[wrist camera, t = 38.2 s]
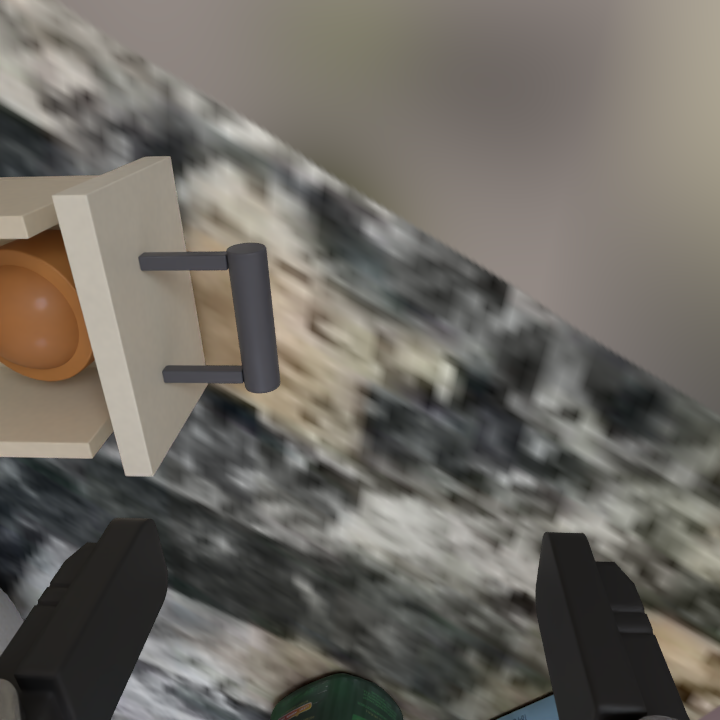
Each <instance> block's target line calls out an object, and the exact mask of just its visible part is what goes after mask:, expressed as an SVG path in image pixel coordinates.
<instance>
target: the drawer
mask: <svg viewBox="0 0 720 720" xmlns="http://www.w3.org/2000/svg"><path fill="white" fill-rule="evenodd" d="M49 229H54V230H61V234H62V237H63V241H64V245H65V249H66V253H67V256H68V260H69V264H70V268H71V271H72V275H73V279H74V283H75V287H76V290H77V294H78V298H79V302H80V306H81V309H82V313H83V317H84V321H85V324H86V328H87V332H88V336H89V340H90V343H91V347H92V351H93V355H94V358H95V361H93V362H92V363H91V364H90V365H88V366H87V367H86V368H85V369H83V370H82V371H81V372H79V373H78V374H77V375H75V376H73V377H71V378H68V379H65V380H60V381H42V380H37V379H33V378H29V377H27V376H24V375H21V374H19V373H17V372H15V371H13V370H12V369H10V368H9V367H7V366H5V365H4V364H3V363H1V362H0V457H32V458H88V459H91V458H93V457H94V456H95V455H96V453H97V452H98V451H99V449H100V448H101V447H102V446H103V444H104V443H105V442H106V440H107V439H108V438H109V436H110V435H111V434H112V432H113V431H114V434H115V438H116V442H117V445H118V449H119V453H120V457H121V461H122V464H123V468H124V472H125V475H126V476H149V477H152V476H154V474H155V473H156V471H157V469H158V468H159V466H160V464H161V462H162V461H163V459H164V457H165V456H166V454H167V452H168V451H169V449H170V447H171V446H172V444H173V442H174V441H175V439H176V437H177V435H178V434H179V432H180V430H181V429H182V427H183V425H184V424H185V422H186V420H187V419H188V417H189V415H190V414H191V412H192V410H193V408H194V407H195V405H196V403H197V402H198V400H199V398H200V397H201V395H202V393H203V392H204V390H205V388H206V387H207V385H208V383H243V382H244V383H245V388H246V389H247V390H248V391H250V392H253V393H267V392H270V391H273V390H275V389H276V388H278V387H279V385H280V374H279V364H278V355H277V345H276V336H275V327H274V317H273V308H272V298H271V289H270V279H269V270H268V261H267V251H266V247H265V245H263V244H259V243H242V244H237V245H233V246H231V247H229V248H228V249H227V251H226V252H187V251H186V245H185V239H184V234H183V228H182V222H181V216H180V210H179V204H178V198H177V192H176V186H175V180H174V175H173V169H172V163H171V157H170V156H154V157H143V158H141V159H138V160H136V161H133V162H131V163H129V164H126V165H124V166H121V167H119V168H117V169H114V170H112V171H109V172H107V173H105V174H102V175H92V176H41V177H0V246H2V245H5V244H7V243H9V242H12V241H14V240H17V239H29V238H31V237H33V236H35V235H37V234H39V233H41V232H43V231H45V230H49ZM228 268H229V274H230V281H231V289H232V296H233V303H234V310H235V318H236V325H237V332H238V339H239V347H240V354H241V361H242V366H214V365H206V363H205V358H204V352H203V346H202V340H201V334H200V328H199V322H198V316H197V310H196V304H195V299H194V293H193V287H192V281H191V275H190V270H228Z"/></svg>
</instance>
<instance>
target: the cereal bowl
mask: <svg viewBox="0 0 720 720" xmlns="http://www.w3.org/2000/svg"><path fill="white" fill-rule="evenodd" d="M23 622H24V621H23V619H22V618H21V616H20V613H19V611H18V610H17V609H16V607H15V605H14V604H13V602H12V601H11V600H10V598H9V597H8V595H7V594H6V593H4V592H3V590H2V589H1V588H0V656H1V654H2V653H3V652H4V650H5V649H6V647H7V646H8V644H9V643H10V641H11V640H12V638H13V637H14V635H15V634H16V632H17V631H18V629H19V628H20V626H21V625H22V624H23Z"/></svg>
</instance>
